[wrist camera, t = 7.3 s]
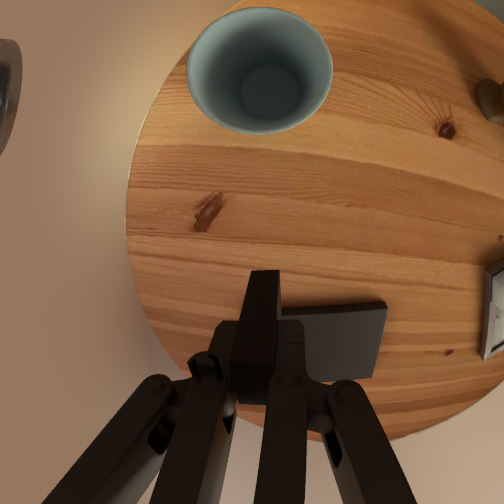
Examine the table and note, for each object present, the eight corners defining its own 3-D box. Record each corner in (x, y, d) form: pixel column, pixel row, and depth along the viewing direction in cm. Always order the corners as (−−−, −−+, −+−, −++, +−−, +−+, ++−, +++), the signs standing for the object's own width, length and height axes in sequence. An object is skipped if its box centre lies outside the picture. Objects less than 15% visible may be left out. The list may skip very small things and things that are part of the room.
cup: (323, 126, 22) (347, 123, 12) (237, 141, 23) (202, 149, 14) (304, 48, 19) (312, -2, 9) (219, 65, 20) (175, 29, 11)
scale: (265, 379, 36) (263, 395, 33) (255, 308, 30) (252, 325, 28) (369, 373, 33) (372, 389, 30) (385, 301, 28) (392, 317, 25)
